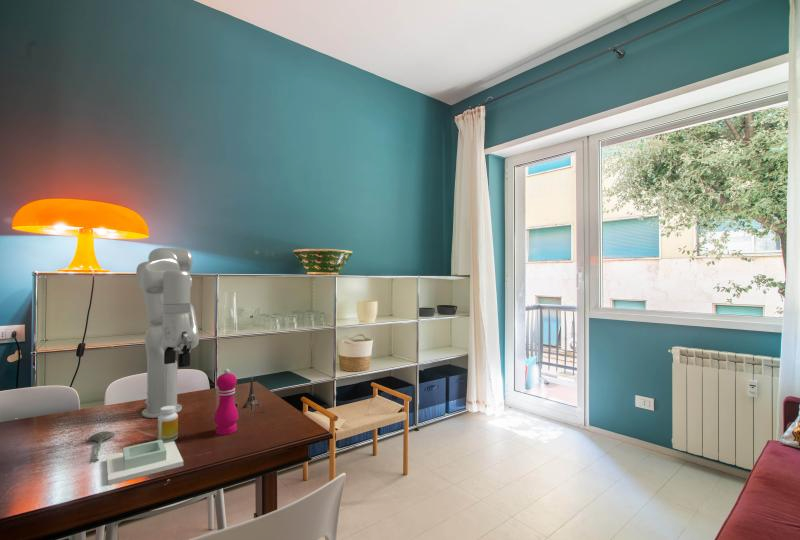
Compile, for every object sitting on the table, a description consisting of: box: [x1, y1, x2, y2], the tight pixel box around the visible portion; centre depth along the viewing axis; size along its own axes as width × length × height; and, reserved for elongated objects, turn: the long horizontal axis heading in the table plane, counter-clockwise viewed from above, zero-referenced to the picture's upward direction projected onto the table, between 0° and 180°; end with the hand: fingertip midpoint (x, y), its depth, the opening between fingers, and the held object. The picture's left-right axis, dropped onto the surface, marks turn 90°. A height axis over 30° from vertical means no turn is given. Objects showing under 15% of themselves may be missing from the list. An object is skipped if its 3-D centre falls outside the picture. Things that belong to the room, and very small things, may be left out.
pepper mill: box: [213, 368, 239, 436], centre depth 128 cm, size 7×7×20 cm
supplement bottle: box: [157, 406, 179, 443], centre depth 122 cm, size 5×5×10 cm
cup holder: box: [106, 439, 184, 486], centre depth 106 cm, size 16×16×4 cm
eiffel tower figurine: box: [242, 375, 262, 411], centre depth 151 cm, size 15×10×13 cm
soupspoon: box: [88, 430, 116, 463], centre depth 116 cm, size 22×3×7 cm
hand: (176, 364), depth 124 cm, fingers open, 9 cm apart
